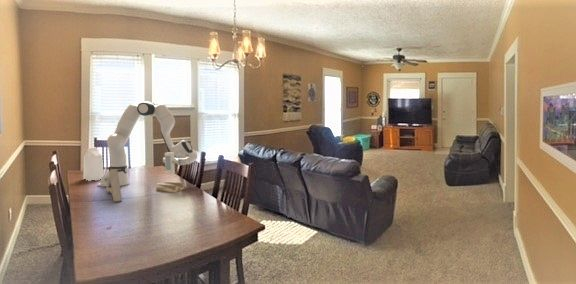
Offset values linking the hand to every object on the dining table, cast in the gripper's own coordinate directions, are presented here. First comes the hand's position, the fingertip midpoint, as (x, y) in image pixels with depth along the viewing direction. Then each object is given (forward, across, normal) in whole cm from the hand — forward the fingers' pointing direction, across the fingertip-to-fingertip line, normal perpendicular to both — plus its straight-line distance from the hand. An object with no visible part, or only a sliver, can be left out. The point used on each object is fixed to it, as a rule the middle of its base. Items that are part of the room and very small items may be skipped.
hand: (168, 161), depth 286 cm
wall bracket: (+31, -21, +20) cm, 43 cm away
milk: (-8, -83, +20) cm, 86 cm away
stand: (0, 0, +20) cm, 20 cm away
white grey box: (-1, 0, +8) cm, 9 cm away
